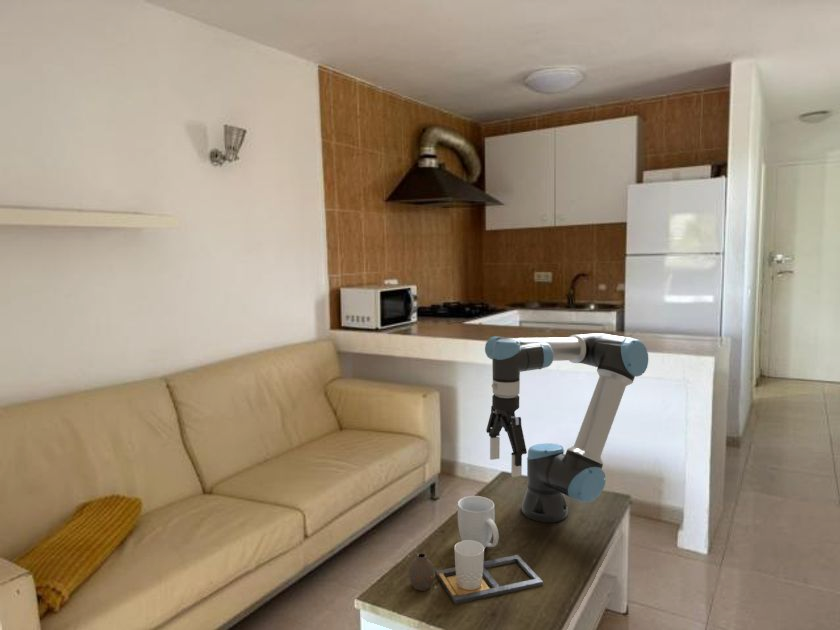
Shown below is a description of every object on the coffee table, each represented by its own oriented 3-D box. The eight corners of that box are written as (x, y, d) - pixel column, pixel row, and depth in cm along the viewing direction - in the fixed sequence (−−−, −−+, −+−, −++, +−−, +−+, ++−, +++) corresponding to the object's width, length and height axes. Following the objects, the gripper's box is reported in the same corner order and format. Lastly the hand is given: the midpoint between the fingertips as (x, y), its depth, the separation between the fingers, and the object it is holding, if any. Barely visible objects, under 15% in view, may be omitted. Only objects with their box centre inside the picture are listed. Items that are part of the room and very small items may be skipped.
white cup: (448, 582, 152) (448, 547, 151) (467, 571, 158) (467, 536, 156) (470, 595, 146) (470, 559, 145) (490, 583, 152) (490, 547, 151)
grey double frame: (517, 557, 164) (517, 554, 164) (542, 585, 151) (542, 580, 151) (436, 574, 157) (436, 570, 156) (455, 604, 143) (455, 599, 143)
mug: (511, 552, 167) (511, 510, 166) (482, 564, 161) (482, 521, 159) (477, 532, 179) (478, 492, 178) (450, 542, 173) (450, 501, 172)
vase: (412, 596, 147) (412, 564, 146) (405, 581, 153) (405, 550, 152) (438, 591, 149) (438, 559, 148) (430, 576, 155) (430, 546, 154)
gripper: (475, 385, 171) (475, 453, 173) (514, 407, 147) (513, 486, 150) (498, 383, 173) (497, 450, 175) (540, 404, 149) (539, 482, 152)
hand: (505, 467), depth 162 cm, fingers open, 13 cm apart
